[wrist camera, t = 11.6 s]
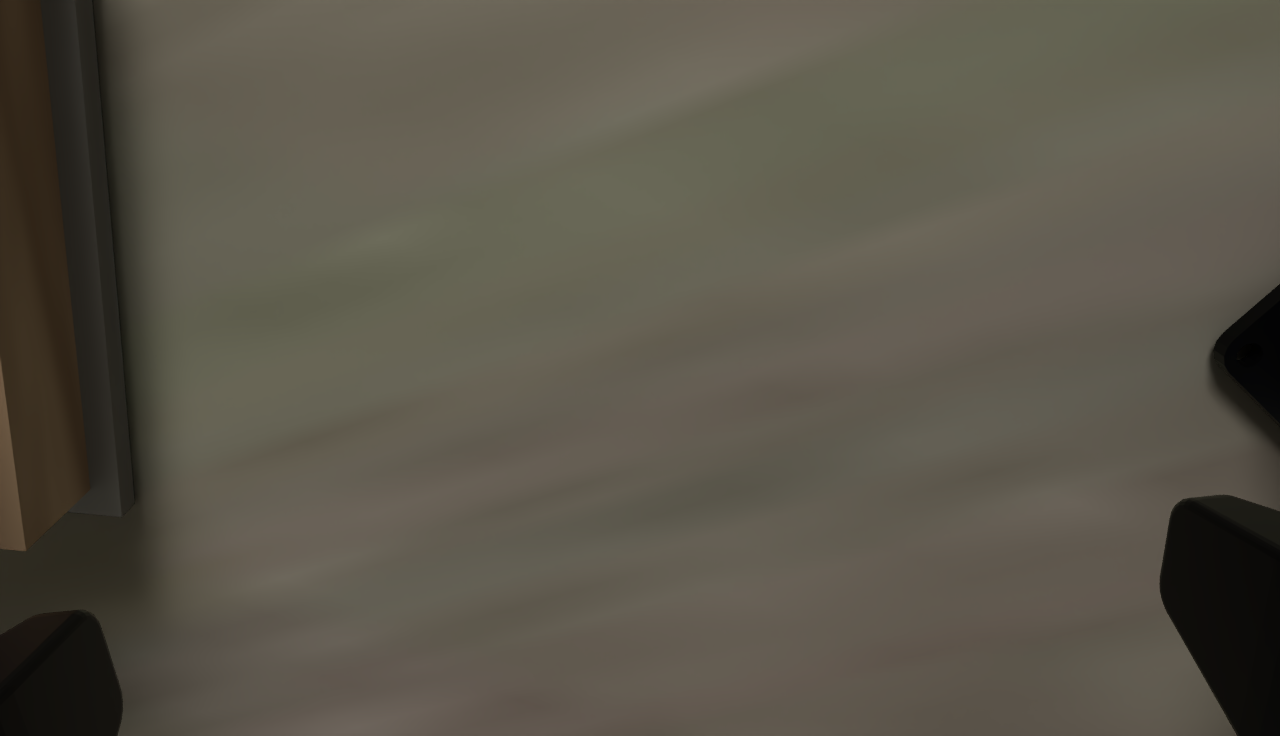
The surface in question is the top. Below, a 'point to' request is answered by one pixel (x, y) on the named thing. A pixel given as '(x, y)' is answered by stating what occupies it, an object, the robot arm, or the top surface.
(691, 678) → the top surface
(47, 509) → the square wooden tray
